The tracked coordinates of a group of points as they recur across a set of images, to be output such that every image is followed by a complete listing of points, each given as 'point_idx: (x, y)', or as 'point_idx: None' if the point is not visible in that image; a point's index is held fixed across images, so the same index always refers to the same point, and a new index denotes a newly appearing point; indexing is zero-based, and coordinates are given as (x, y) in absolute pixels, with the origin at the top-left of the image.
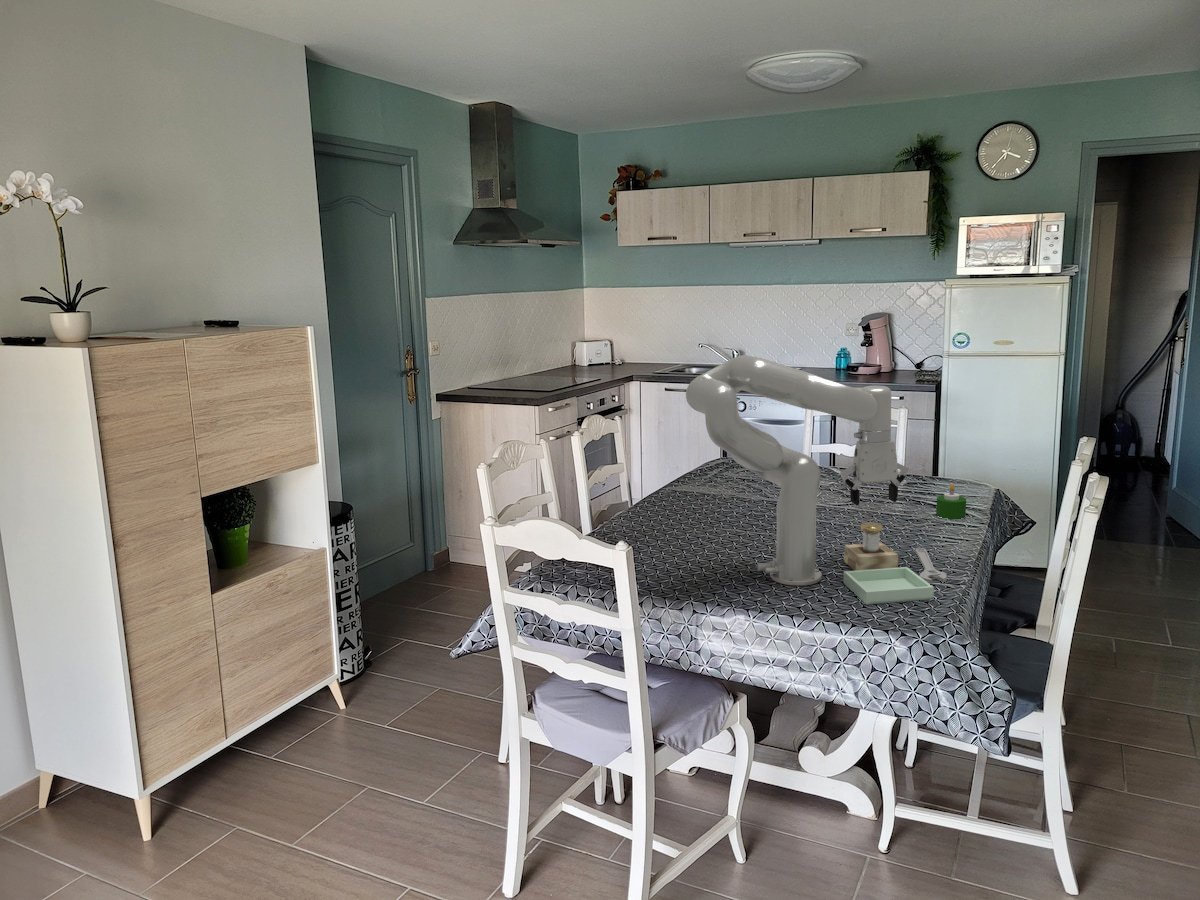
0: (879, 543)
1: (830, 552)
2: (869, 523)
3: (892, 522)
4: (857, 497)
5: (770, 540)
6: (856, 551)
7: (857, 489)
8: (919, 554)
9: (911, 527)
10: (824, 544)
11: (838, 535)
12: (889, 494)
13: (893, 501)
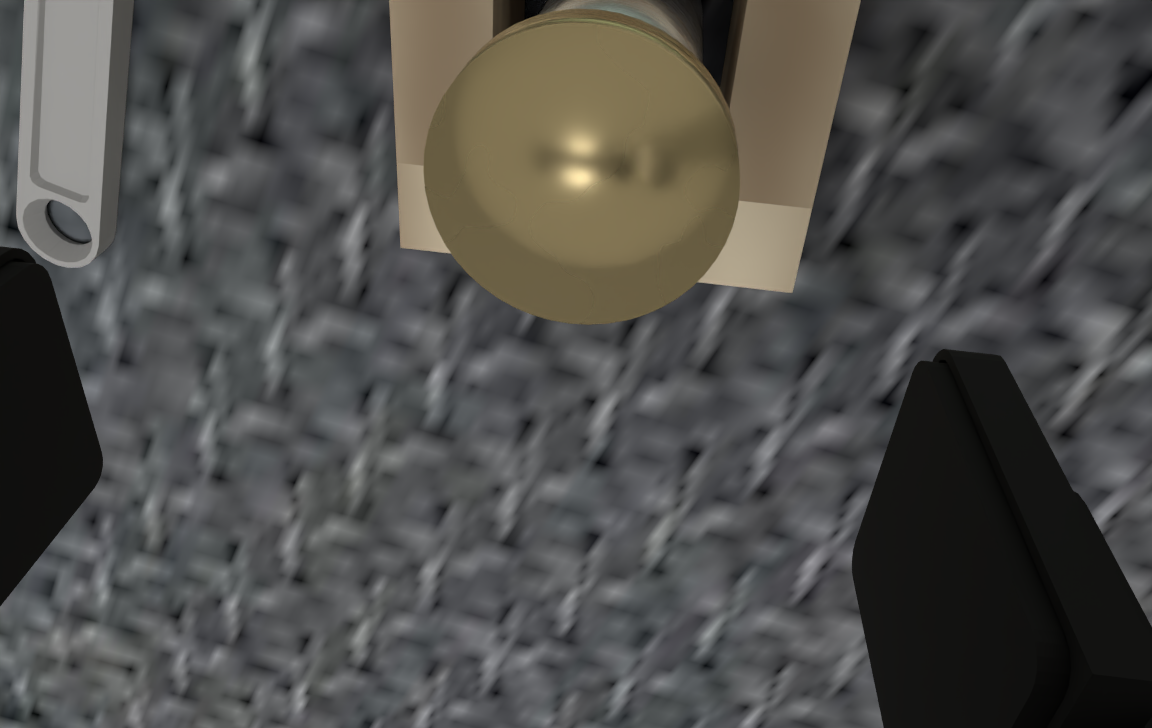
0: (433, 228)
1: (759, 428)
2: (565, 277)
3: (124, 714)
4: (1046, 476)
5: None
6: (798, 66)
7: (1086, 725)
8: (96, 109)
9: (31, 628)
10: (705, 565)
11: (526, 658)
12: (32, 516)
13: (37, 267)
